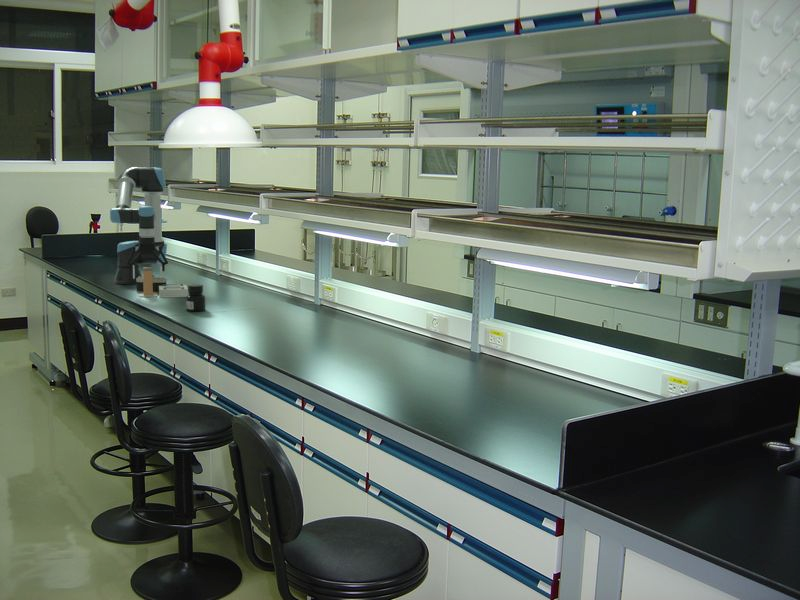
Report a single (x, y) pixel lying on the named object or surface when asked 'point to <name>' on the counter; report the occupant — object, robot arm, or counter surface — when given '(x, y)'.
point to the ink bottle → (195, 298)
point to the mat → (148, 295)
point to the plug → (147, 281)
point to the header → (173, 290)
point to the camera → (156, 283)
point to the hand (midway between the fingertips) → (147, 277)
